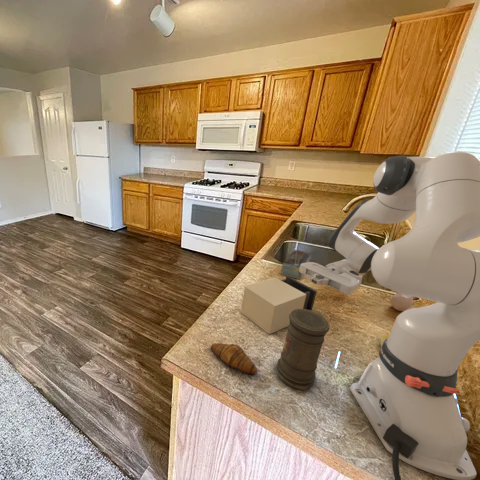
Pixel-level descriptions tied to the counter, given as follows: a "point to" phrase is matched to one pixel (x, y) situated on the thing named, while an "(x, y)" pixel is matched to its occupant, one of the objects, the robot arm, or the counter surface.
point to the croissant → (234, 357)
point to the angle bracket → (305, 289)
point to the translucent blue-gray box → (295, 263)
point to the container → (302, 348)
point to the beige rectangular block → (271, 303)
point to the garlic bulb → (402, 302)
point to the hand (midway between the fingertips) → (314, 281)
